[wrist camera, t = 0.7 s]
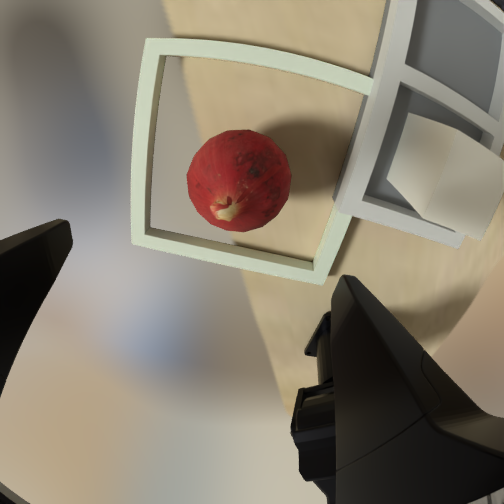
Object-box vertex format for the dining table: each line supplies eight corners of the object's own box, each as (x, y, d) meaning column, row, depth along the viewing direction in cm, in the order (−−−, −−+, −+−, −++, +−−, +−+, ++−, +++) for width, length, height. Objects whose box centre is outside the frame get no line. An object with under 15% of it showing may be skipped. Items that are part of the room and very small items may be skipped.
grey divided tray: (445, 233, 20) (458, 249, 18) (332, 197, 20) (338, 212, 18) (505, 31, 9) (523, 31, 7) (393, -41, 9) (405, -52, 7)
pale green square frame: (321, 276, 24) (322, 285, 23) (137, 236, 23) (131, 243, 22) (388, 87, 15) (394, 87, 14) (153, 40, 14) (146, 38, 13)
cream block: (439, 199, 18) (480, 241, 13) (386, 178, 17) (422, 218, 12) (461, 140, 15) (513, 167, 10) (408, 112, 15) (457, 129, 10)
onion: (247, 104, 17) (225, 117, 10) (306, 165, 19) (321, 217, 12) (188, 162, 19) (141, 210, 13) (245, 215, 21) (229, 285, 15)
